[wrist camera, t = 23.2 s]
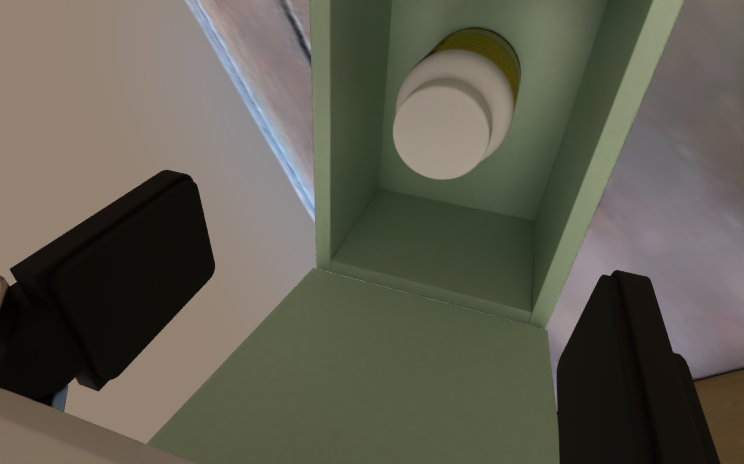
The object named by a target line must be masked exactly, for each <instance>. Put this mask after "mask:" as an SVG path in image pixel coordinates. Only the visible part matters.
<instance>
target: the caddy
mask: <svg viewBox="0 0 744 464" xmlns="http://www.w3.org/2000/svg"><path fill="white" fill-rule="evenodd" d="M694 385H695V388H696V391H697V394H698V397H699V400H700V403H701V406H702V409H703V412H704V415H705V418H706V421H707V424H708V427H709V430H710V433H711V436H712V439H713V442H714V445H715V448H716V451H717V454H718V457H719V460H720V463H721V464H744V370H740V371H735V372H731V373H727V374H723V375H719V376H715V377H711V378H707V379H703V380H699V381H695V382H694ZM557 422H558V414H557ZM558 431H559V430H558Z"/></svg>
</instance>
